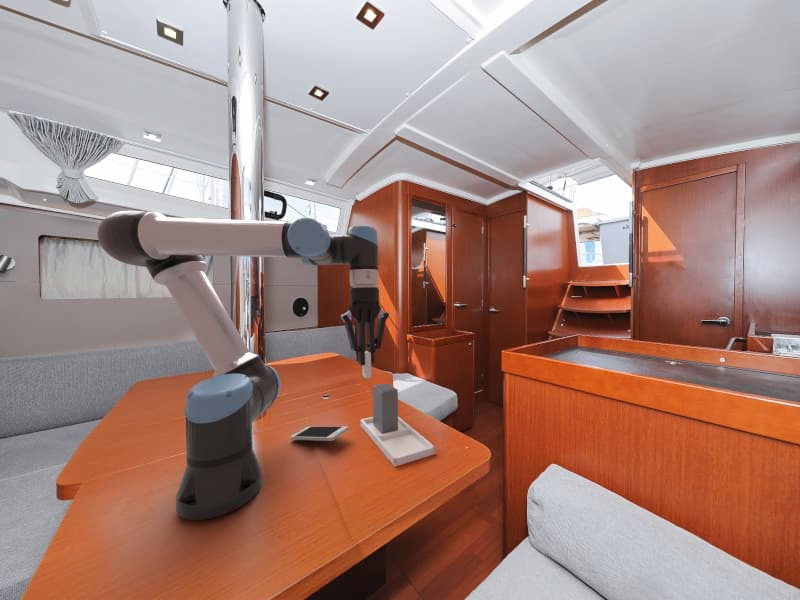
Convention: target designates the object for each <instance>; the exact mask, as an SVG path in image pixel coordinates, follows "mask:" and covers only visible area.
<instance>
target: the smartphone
mask: <svg viewBox="0 0 800 600" xmlns="http://www.w3.org/2000/svg"><path fill="white" fill-rule="evenodd" d="M347 431H349V426H347V425H346V426H344V425H343V426H339V425H337V426H335V425H332V426H330V425H329V426H326V425H325V426H323V425H321V426H319V425H318V426H312V425H311V426H306V427H305V428H302V429H300V430H299V431H297V432H296V433H293V434H292V435H290V436H289V438H290V440H291V441H292V440H293V441H294V440H295V441H319V442H320V441H325V442H333V441H335V440H336V439H337V438H339V437H340V436H342V435H343V434H345V433H346V432H347Z"/></svg>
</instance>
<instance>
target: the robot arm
mask: <svg viewBox="0 0 800 600" xmlns="http://www.w3.org/2000/svg"><path fill="white" fill-rule="evenodd" d="M96 234H97V240H98V242H99V245H100V246H101V248H102V250H103V251H104V252H106V254H107V255H108V256H110V257H111V258H113V259H115V260H117V261H118V262H121V263H124V264H127V265H131V266H136V267H137V266H138V267H144V268H146V269H147V271H148V272H149V274H150V276H151V278H152V280H153V281H154V282H155V284H158V285H163V286H165V287H166V288H167V290H168V292H169V294H170V295H171V297H172V298H173V300H174V301H175V304H176V306H177V307H178V309H179V311H180V312H181V314H182V316H183V317H184V319H185V321H186V323H187V325H188V326H189V328H190V330H191V331H192V333H193V335H194V336H195V338H196V340H197V342H198V344H199V346H200V348H202V351H203V353H204V354H205V355H206V358H207V359H208V361H209V362H210V364H211V367H212V368H213V369H214V373H213V376H212V377H209V378H206V379H204V380H201V381H200V382H197V383H196V384H195V385H193V386H192V387H191V388H190V389H189V390H188V392H187V394H186V399H185V406H184V415H185V416H184V417H185V442H186V443H185V445H186V446H185V447H186V449H185V450H186V467H185V469H184V472H183V475H182V478H181V480H180V484H179V487H178V489H177V493H176V496H175V510H176V513H177V515H178V516H179V517H180V518H183V519H185V520H189V521H202V520H209V519H214V518H217V517H220V516H222V515H226V514H227V513H230V512H232V511H234V510H236V509H238V508H240V507H242V506H243V505H245V504H246V503H247V502H248V501H250V500H251V499H252V498H254V496H255V495H257V493H258V491H260V489H261V487H262V483H263V475H262V474H263V472H262V468H261V465H260V463H259V461H258V458H257V456H256V454H255V450H254V449H253V448H254V446H253V423H254V422H255V421H256V420H257V419H258V418H259V417H260V416H261V415H262V414H263V413H264V412H265V411H266V410H268V409H269V408H271V406H272V405H273V403H275V401H276V400H277V398H278V396H279V394H280V393H281V392H280V391H281V378H280V376H279V373H278V372H277V370H276V369H275V368H274V367H272V366H270V365H267V364H265V363H264V361H263V359H262V357H261V356H260V355H259V354H258V353H257V354H256V353H253V352H251V351H250V350H249V348H248V346H247V345H246V343H245V341H244V340H243V337H242V336H241V334H240V332H239V331H238V329H237V327H236V325H235V323H234V322H233V320H232V319H231V316H230V315H229V313H228V311H227V310H226V308H225V306H224V304H223V303H222V302H221V300H220V297H219V296H218V294H217V292H216V291H215V289H214V287H213V285H212V283H211V281H210V280H209V278H208V276H207V275H206V270H208V269H207V268H208V266H209V265H208V263H207V261H206V256H211V257H215V256H217V257H249V258H250V257H253V258H254V257H255V258H256V257H257V258H258V257H261V258H289V259H300V260H301V262H302V263H303V264H304V265H306V266H316V267H318V266H333V265H334V266H335V265H344V266H345V265H349V285H350V286H351V288H350V290H349V295H350V296H349V297H350V301H349V302H350V305H349V308H348V310H347V312H345V313H344V314H341V315H340V319H341V321H342V322H343V323H344V327H345V331H346V334H347V338H348V341H349V345H350V350H352V351H354V352H357V353H358V364H359V365H360V366H361V369H362V370H361V371H362V375H361V376H362V377H363V378H365V379H371V378H372V365H374V363H375V352H376V351H377V350H379V349H381V347H382V343H383V337H384V333H385V328H386V327H385V325H386V321H387V319H388V318H389V315H390V314H389V312H385V311H384V310H383V309H382V307H381V305H380V288H379V287H377V286H379V284H380V282H379V281H380V278H379V273H380V272H379V242H378V231H377V230H376V228H375V227H373V226H370V225H364V224H363V225H354V226H351V227H349V228H348V233H347V234H344V235H333V234H332V235H331V233H330V232H329V230H328V229H327V228H326V227H325V225H324V224H322V222H319V221H317V220H316V219H314V218H311V217H301V218H297V219H296V220H294V221H276V220H275V221H274V220H272V221H271V220H243V219H217V218H214V219H213V218H210V219H209V218H190V217H189V218H187V217H185V218H184V217H167V216H166V215H164V214H163V213H161V212H158V211H142V210H140V211H139V210H120V211H116V212H114V213H111V214H109V215H107V216H106V217H105V218H104V219H103V220H102V221H101V222H100V224H99V226H98V228H97V232H96ZM377 317H378V320H377V323H376V328H375V322H376V321H375V320H376V318H377ZM352 318H353V319H354V321H356V327H357V328H356V330H357V333H356V334H357V335H356V334H355V329H354V326H353V323H352ZM356 336H357V337H356Z"/></svg>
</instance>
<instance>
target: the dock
mask: <svg viewBox="0 0 800 600" xmlns="http://www.w3.org/2000/svg"><path fill="white" fill-rule="evenodd" d="M359 421H360V423H359V425H360V428H362V429H363V430H364V432H365V433H366V434H367V435H368V436H369V438H370V439H371V440H372V441H373V443H374V444H375V445H376V446H377V447H378V449H379V450H380V451H381V452H382V453H383V455H384V456H385V457H386V458H387V459H388V461H390V463H391V464H392V465H393V467H394V468H396V467H399V466H401V465H402V466H403V465H405V464H407V463H411V462H414V461H417V460H421V459H425V458H427V457H430V456H433V455H436V446H435V445H434V444H432V443H431V442H430V441H429V440H427V439H426V438H425V437H424V436H423V435H422V434H421V433H419V432H418V431H416V430H415V429H414V428H413V427H411V426H410V424H408V423H407V422H406V421H404V420H403V419H402V418H401V417H400V416H399V389H397V388H396V387H394V386H393V385H391V384H390V383H383V384H382V383H381V384H376V385H375V384H374V385H372V417H366V418H362V419H360V420H359Z"/></svg>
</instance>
